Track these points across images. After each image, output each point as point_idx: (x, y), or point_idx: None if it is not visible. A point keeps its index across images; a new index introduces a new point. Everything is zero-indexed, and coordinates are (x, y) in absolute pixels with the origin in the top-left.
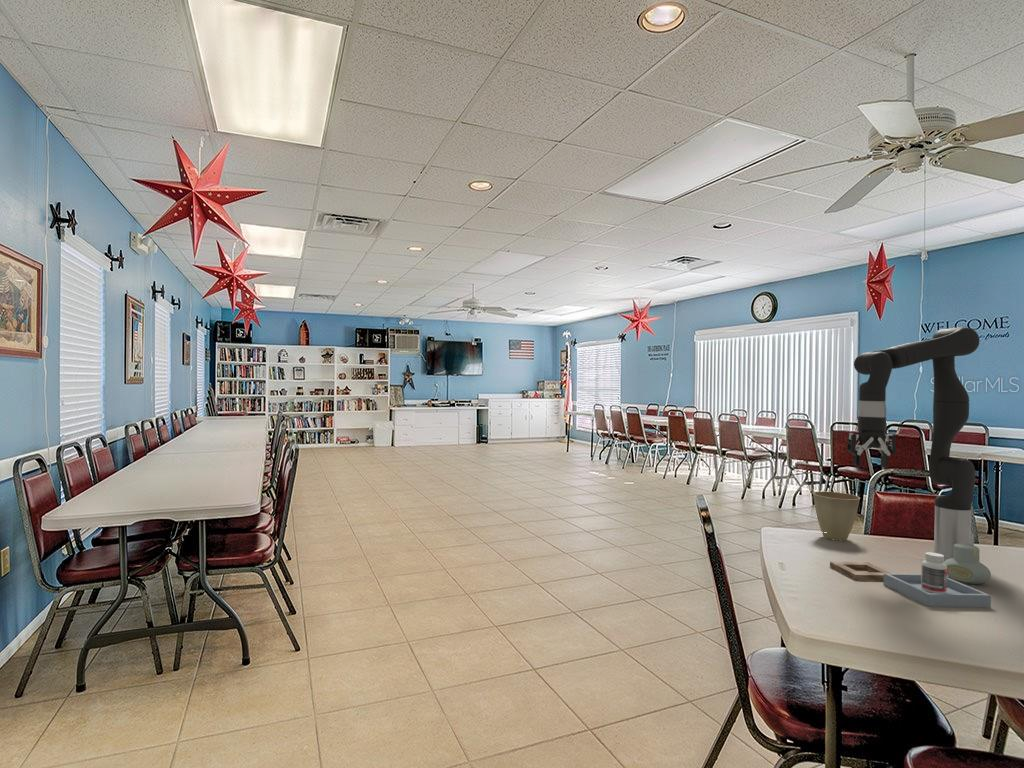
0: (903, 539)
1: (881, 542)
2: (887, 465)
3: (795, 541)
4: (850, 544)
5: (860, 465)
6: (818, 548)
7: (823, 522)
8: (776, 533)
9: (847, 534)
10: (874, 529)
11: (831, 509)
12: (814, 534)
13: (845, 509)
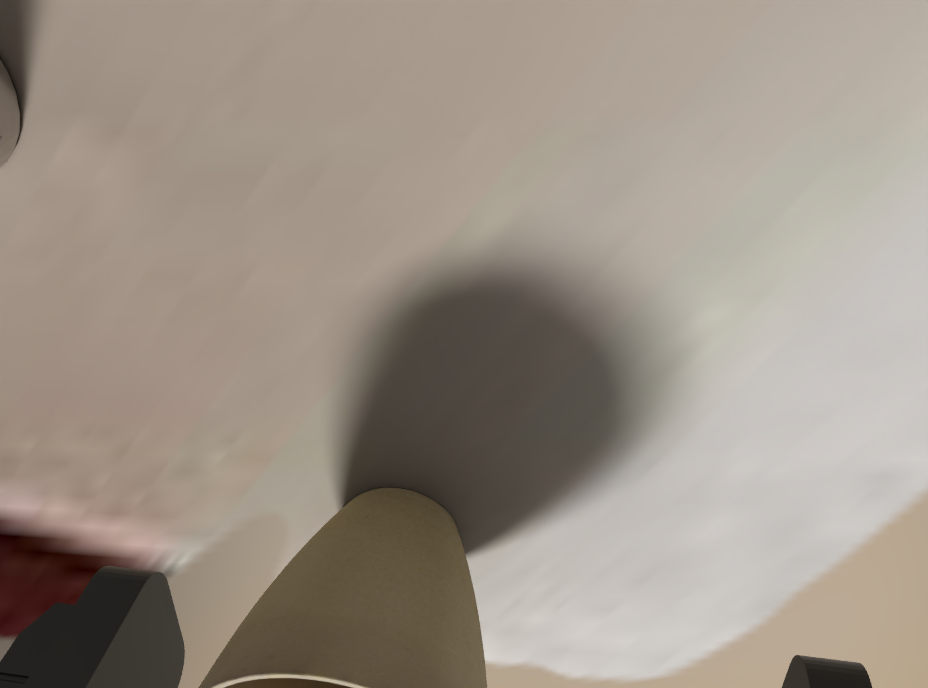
0: (6, 488)
1: (165, 450)
2: (80, 602)
3: (710, 498)
4: (386, 428)
5: (819, 683)
6: (673, 368)
7: (475, 603)
8: (700, 629)
9: (355, 507)
10: None
11: (445, 646)
12: None
13: (359, 617)
